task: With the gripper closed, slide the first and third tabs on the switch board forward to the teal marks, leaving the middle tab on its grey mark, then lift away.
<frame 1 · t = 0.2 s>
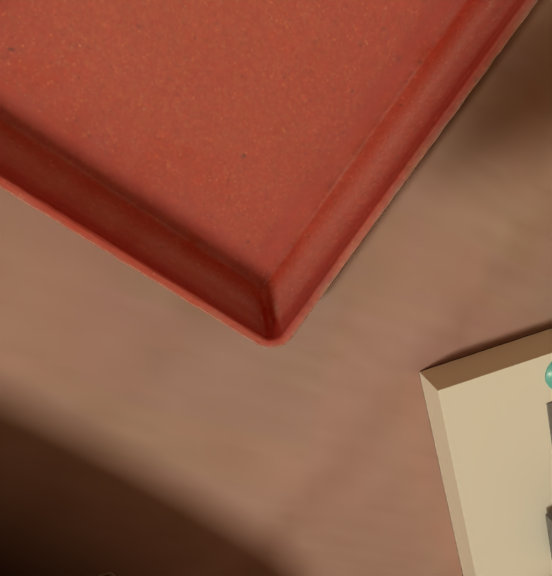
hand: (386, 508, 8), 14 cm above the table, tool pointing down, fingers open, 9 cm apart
plant saucer: (214, 31, 19), on the table
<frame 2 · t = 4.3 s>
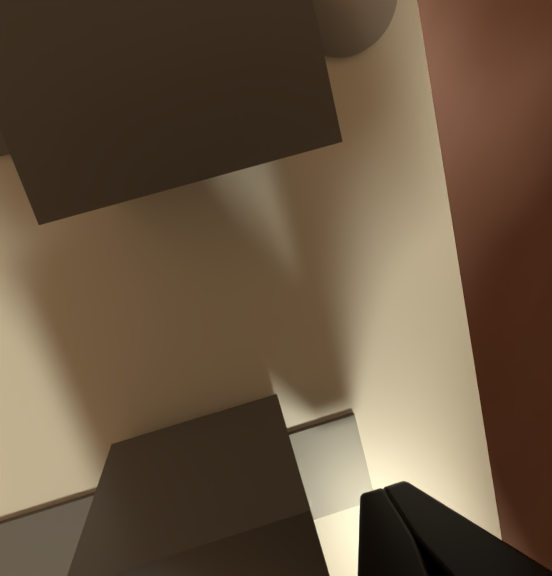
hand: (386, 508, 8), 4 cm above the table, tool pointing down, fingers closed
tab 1: (230, 575, 8), point 4 cm above the table, slide at 1.3 cm, touching gripper
tab 2: (144, 2, 6), point 4 cm above the table, slide at 0.0 cm
switch board: (11, 105, 9), on the table
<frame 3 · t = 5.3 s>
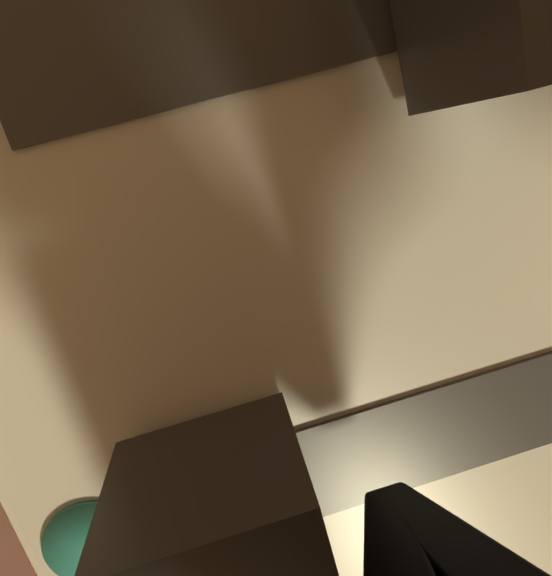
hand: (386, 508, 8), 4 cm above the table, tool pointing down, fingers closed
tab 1: (236, 573, 8), point 4 cm above the table, slide at 6.1 cm, touching gripper
switch board: (268, 38, 9), on the table
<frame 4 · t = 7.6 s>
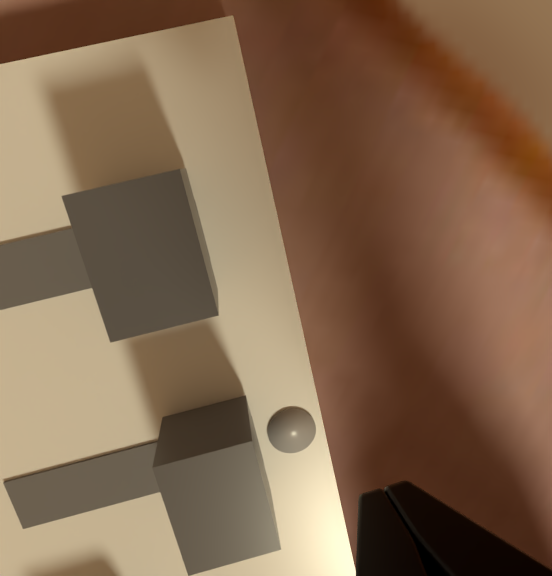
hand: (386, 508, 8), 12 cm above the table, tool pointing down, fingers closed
tab 3: (150, 249, 14), point 4 cm above the table, slide at 0.0 cm
tab 2: (218, 480, 16), point 4 cm above the table, slide at 0.0 cm
switch board: (145, 441, 20), on the table
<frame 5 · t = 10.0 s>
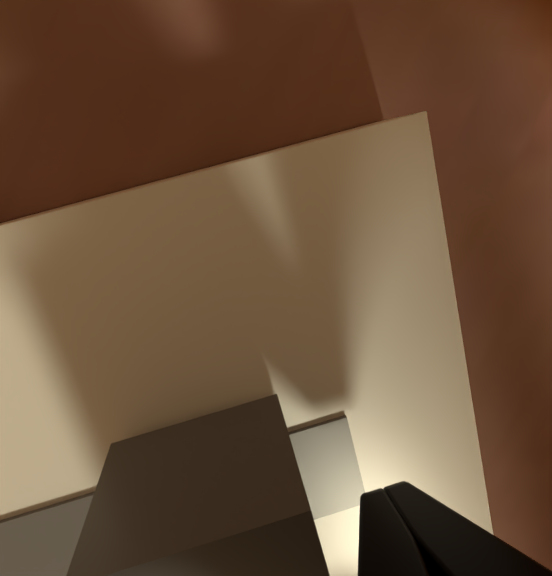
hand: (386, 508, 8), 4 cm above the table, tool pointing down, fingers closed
tab 3: (229, 575, 8), point 4 cm above the table, slide at 1.2 cm, touching gripper
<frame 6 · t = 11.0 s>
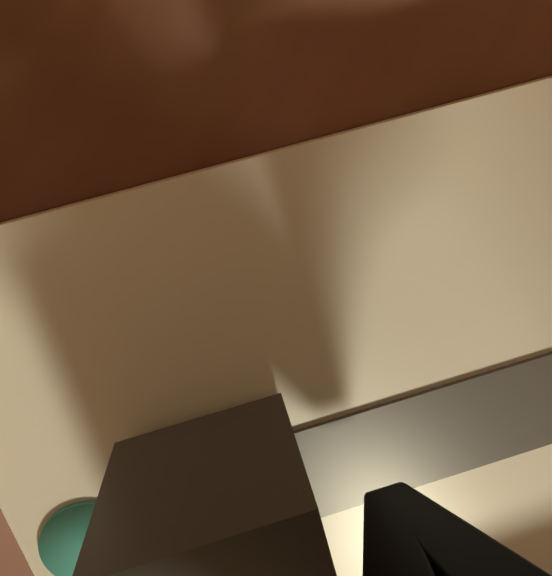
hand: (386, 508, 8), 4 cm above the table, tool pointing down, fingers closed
tab 3: (234, 574, 8), point 4 cm above the table, slide at 6.1 cm, touching gripper
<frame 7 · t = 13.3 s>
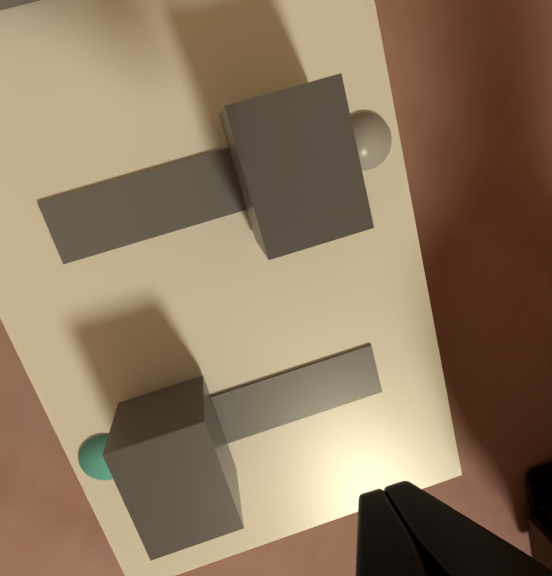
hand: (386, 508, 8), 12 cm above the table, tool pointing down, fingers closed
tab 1: (178, 462, 16), point 4 cm above the table, slide at 6.1 cm
tab 2: (292, 168, 14), point 4 cm above the table, slide at 0.0 cm
switch board: (192, 187, 17), on the table
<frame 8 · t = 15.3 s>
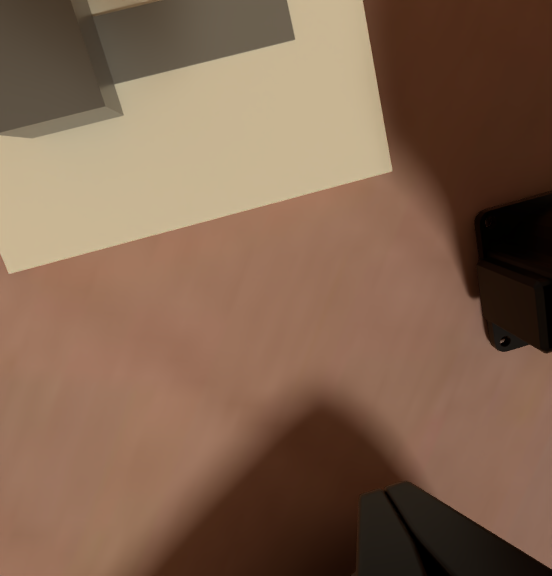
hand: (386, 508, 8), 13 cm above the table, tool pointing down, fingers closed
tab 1: (39, 51, 14), point 4 cm above the table, slide at 6.1 cm
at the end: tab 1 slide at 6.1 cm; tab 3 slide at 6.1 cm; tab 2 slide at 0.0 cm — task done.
